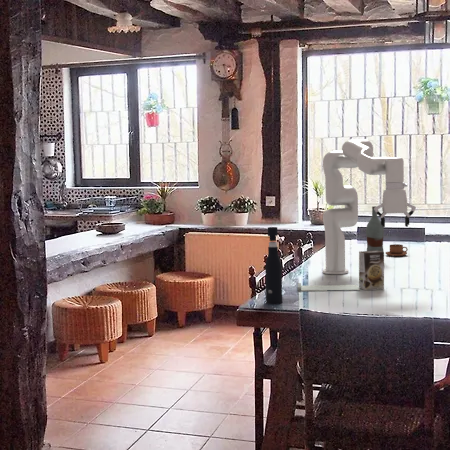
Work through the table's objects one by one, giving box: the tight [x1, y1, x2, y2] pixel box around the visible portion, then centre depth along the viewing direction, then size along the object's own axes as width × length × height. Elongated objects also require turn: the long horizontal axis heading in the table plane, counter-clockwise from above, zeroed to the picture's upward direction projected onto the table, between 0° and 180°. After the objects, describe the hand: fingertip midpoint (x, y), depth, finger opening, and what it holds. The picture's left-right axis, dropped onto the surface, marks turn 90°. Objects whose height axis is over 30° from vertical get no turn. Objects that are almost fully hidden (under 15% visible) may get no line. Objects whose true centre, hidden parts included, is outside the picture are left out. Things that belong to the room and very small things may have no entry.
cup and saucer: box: [384, 243, 409, 257], centre depth 394 cm, size 12×12×6 cm
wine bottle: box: [264, 226, 283, 305], centre depth 276 cm, size 6×6×30 cm
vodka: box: [365, 206, 385, 253], centre depth 369 cm, size 9×9×30 cm
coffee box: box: [358, 250, 385, 291], centre depth 299 cm, size 9×6×16 cm
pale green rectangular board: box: [297, 282, 361, 292], centre depth 302 cm, size 10×26×2 cm, turn 85°
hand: (395, 226), depth 296 cm, fingers open, 9 cm apart
